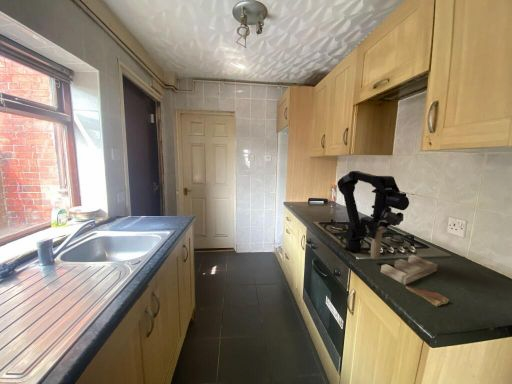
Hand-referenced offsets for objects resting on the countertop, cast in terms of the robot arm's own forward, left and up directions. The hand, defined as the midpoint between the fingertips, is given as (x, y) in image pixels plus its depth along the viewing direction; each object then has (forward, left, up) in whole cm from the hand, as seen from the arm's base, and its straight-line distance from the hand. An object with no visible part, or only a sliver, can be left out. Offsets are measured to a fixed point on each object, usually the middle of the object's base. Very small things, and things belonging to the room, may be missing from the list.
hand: (377, 237), depth 97 cm
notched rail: (+11, +8, -13) cm, 19 cm away
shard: (+24, -5, -14) cm, 28 cm away
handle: (0, 0, -10) cm, 10 cm away
